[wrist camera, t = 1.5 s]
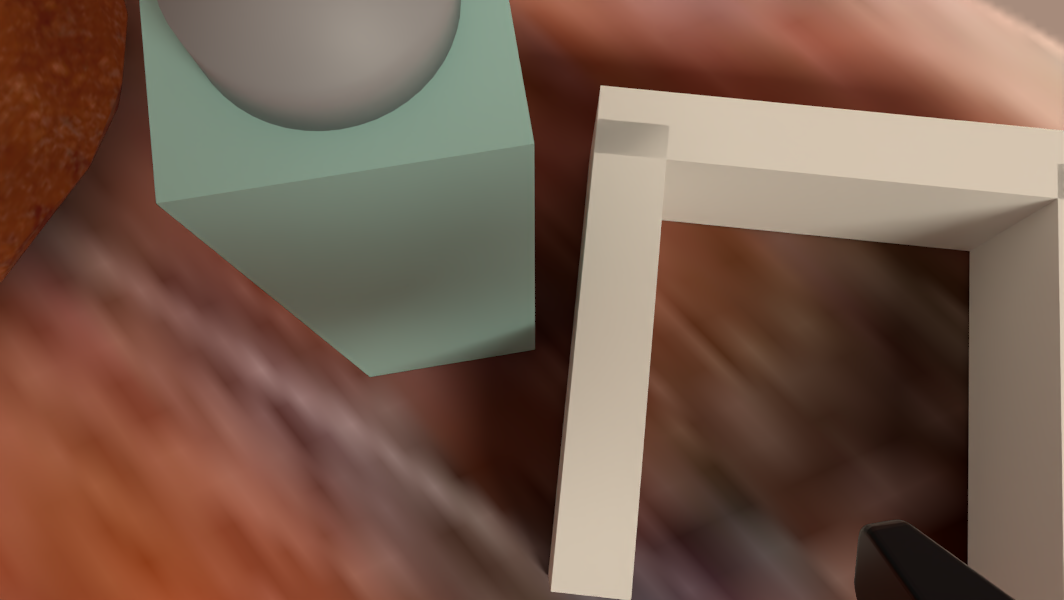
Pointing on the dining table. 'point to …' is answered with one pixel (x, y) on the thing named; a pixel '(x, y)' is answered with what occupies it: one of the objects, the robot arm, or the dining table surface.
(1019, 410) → the cradle
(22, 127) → the bread
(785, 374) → the dining table surface
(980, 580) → the robot arm
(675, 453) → the dining table surface
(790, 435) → the dining table surface
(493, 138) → the post
